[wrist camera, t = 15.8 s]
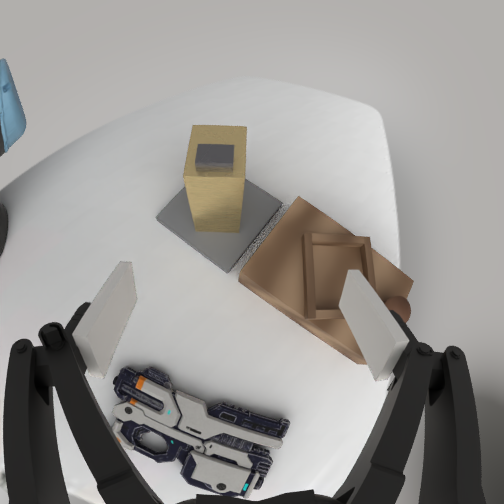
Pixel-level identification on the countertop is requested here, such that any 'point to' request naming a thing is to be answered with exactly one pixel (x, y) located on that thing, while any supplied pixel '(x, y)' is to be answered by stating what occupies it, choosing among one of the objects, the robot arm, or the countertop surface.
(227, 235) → the mat
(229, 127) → the labelled wooden block
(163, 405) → the toy gun
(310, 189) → the countertop surface
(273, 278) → the body
